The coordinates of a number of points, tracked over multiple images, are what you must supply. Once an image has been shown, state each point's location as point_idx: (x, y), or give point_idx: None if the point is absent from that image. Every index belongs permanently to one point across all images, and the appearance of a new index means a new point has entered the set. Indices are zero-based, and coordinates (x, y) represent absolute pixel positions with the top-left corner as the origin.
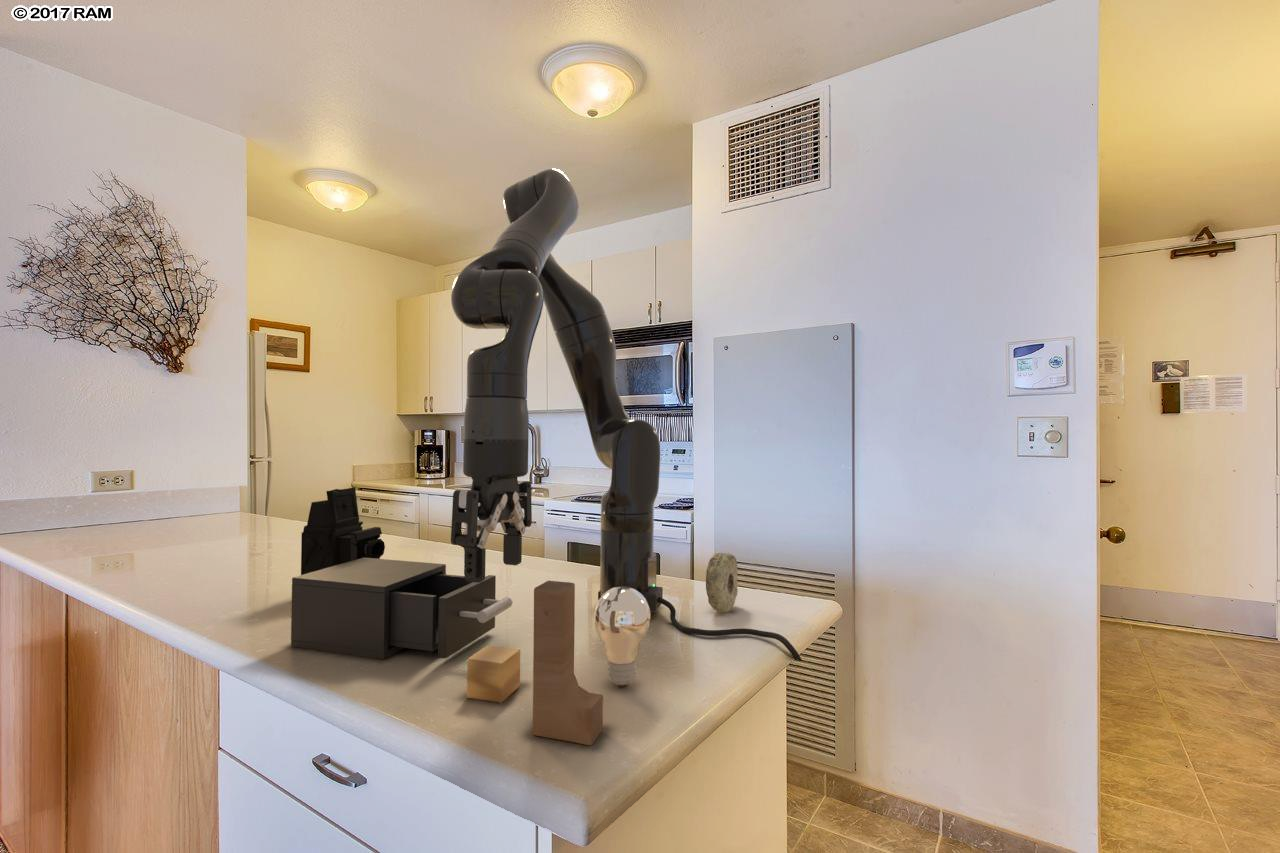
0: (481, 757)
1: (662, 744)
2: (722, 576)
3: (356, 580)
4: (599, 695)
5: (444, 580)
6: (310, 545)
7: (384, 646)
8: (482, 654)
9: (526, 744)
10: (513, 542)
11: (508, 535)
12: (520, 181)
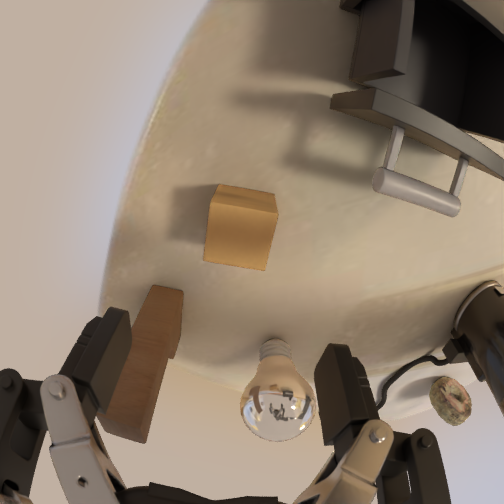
0: (108, 250)
1: (174, 366)
2: (438, 414)
3: None
4: (169, 357)
5: None
6: None
7: (346, 2)
8: (232, 220)
9: (138, 282)
10: (330, 417)
11: (342, 428)
12: None
